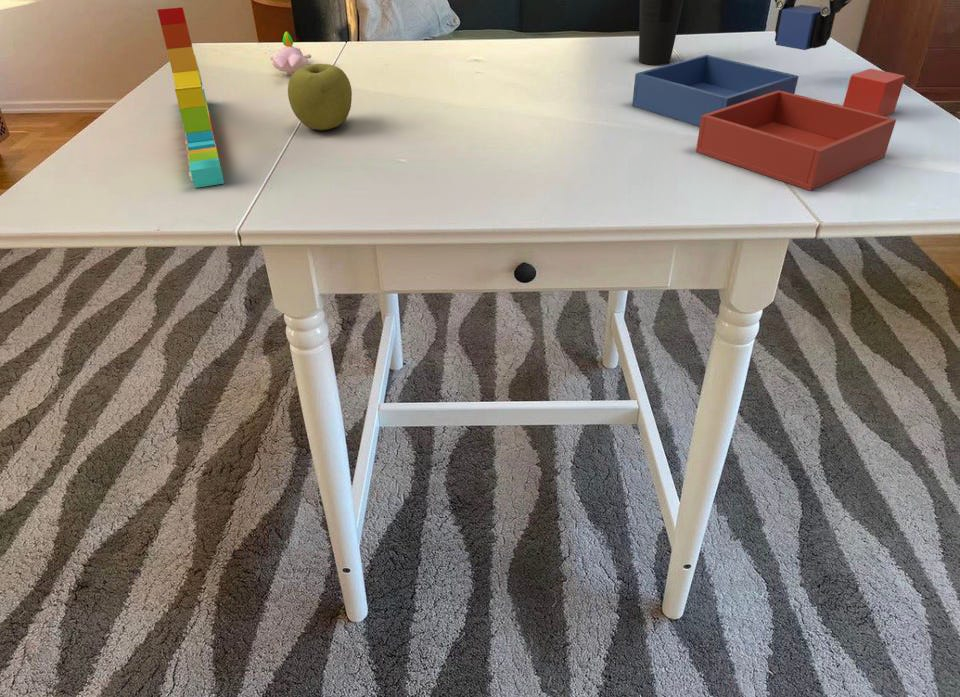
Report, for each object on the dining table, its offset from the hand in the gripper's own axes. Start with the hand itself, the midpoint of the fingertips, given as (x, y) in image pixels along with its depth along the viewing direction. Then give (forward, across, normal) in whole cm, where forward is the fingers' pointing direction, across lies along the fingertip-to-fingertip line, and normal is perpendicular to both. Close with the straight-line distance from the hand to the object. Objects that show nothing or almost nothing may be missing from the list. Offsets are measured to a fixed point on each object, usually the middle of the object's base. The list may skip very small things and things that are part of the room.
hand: (800, 41), depth 98 cm
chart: (+5, +33, +73) cm, 80 cm away
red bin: (+6, -15, +24) cm, 29 cm away
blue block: (0, 0, 0) cm, 0 cm away
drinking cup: (+5, +21, +5) cm, 22 cm away
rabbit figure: (+4, +53, +51) cm, 73 cm away
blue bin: (+5, +1, +17) cm, 18 cm away
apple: (+5, +27, +59) cm, 65 cm away
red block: (+6, -13, +4) cm, 15 cm away
